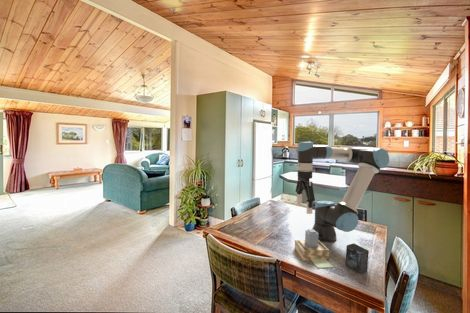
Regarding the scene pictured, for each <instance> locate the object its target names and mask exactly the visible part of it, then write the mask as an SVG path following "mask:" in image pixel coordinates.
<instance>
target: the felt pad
mask: <svg viewBox="0 0 470 313" xmlns="http://www.w3.org/2000/svg"><path fill="white" fill-rule="evenodd" d="M310 261H311V262H312V263H313V264H314V267H316V268H317V269H330V268H332V269H333V268H334V266H333V265H332V264H331V262H330V261H328V259H311V260H310Z"/></svg>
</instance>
